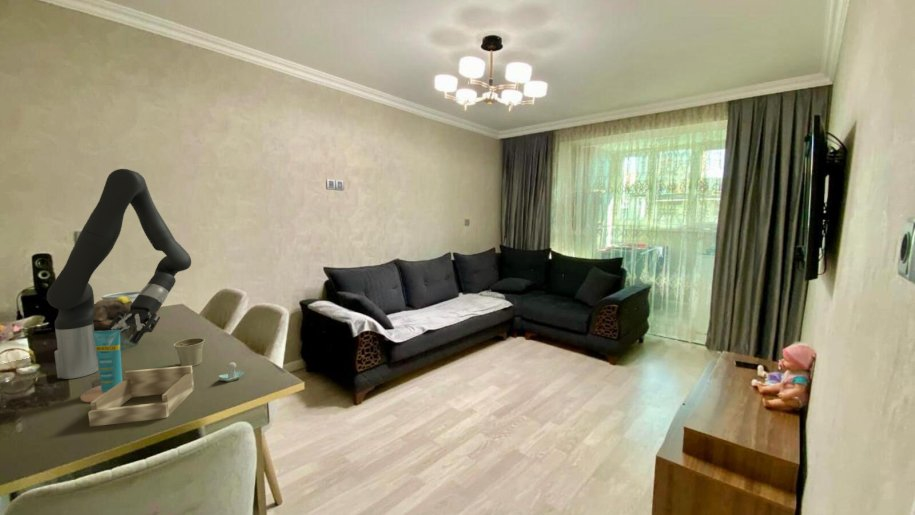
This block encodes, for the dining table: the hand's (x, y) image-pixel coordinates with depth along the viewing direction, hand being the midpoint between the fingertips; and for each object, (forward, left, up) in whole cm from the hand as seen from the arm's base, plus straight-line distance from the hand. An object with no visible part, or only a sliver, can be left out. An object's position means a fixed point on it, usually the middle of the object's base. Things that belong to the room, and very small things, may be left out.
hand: (120, 342), depth 120 cm
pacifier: (+32, -3, -15) cm, 35 cm away
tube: (-1, -4, -14) cm, 15 cm away
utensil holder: (-37, +72, -15) cm, 83 cm away
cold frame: (+14, -18, -14) cm, 27 cm away
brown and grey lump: (-27, +42, -15) cm, 52 cm away
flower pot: (+13, +14, -15) cm, 25 cm away
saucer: (-2, -5, -14) cm, 15 cm away
